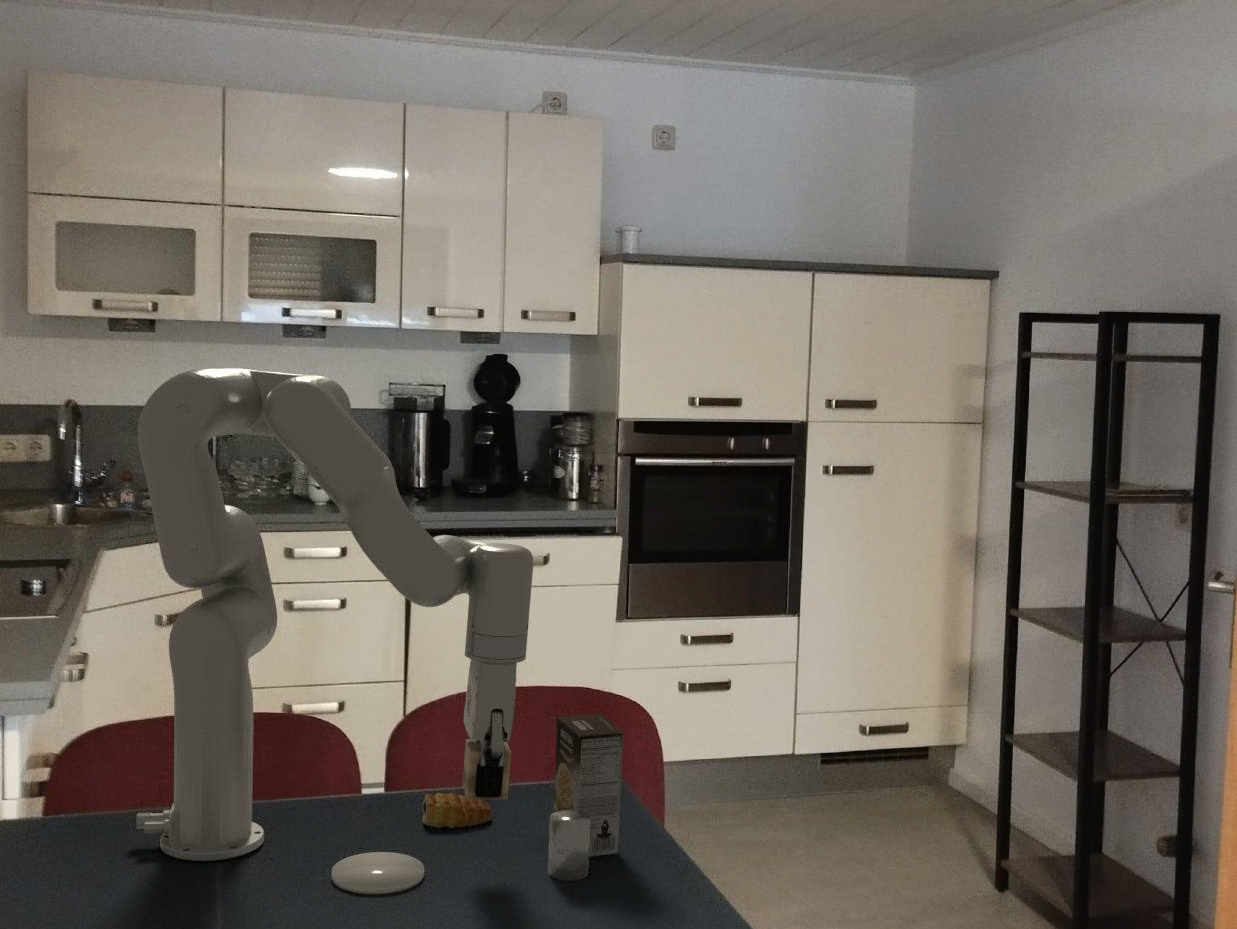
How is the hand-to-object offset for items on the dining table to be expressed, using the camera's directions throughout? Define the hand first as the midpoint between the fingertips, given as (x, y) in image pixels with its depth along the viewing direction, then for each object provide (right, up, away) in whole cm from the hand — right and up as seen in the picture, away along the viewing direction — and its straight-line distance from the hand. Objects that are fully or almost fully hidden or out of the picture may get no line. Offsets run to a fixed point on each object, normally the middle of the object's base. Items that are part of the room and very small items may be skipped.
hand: (485, 787), depth 166 cm
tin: (+10, -10, -1) cm, 15 cm away
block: (0, -1, 0) cm, 1 cm away
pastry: (-6, -9, +15) cm, 19 cm away
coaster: (-12, -10, -4) cm, 16 cm away
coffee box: (+12, -10, +9) cm, 18 cm away
